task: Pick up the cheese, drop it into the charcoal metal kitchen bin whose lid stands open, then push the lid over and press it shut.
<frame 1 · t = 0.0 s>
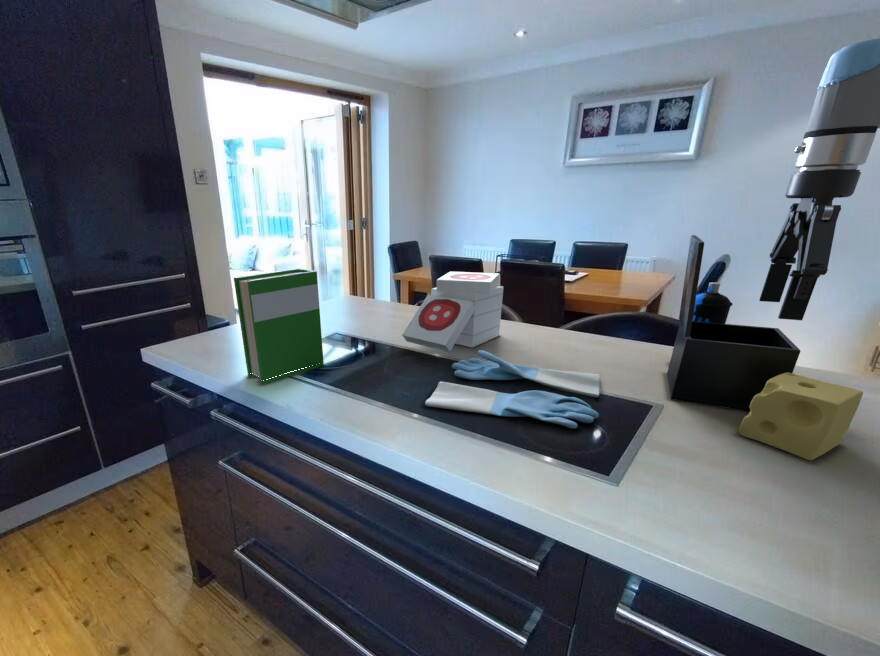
hand: (778, 309, 74), 20 cm above the worktop, tool pointing down, fingers open, 13 cm apart
rubber gloves: (515, 393, 95), on the worktop
pizza boxes: (454, 341, 130), on the worktop
bin lid: (690, 284, 88), point 22 cm above the worktop, hinge at 95.0°
bin: (715, 392, 92), on the worktop
hardback book: (286, 371, 111), on the worktop
cheese: (789, 441, 74), on the worktop
aerosol can: (691, 368, 105), on the worktop
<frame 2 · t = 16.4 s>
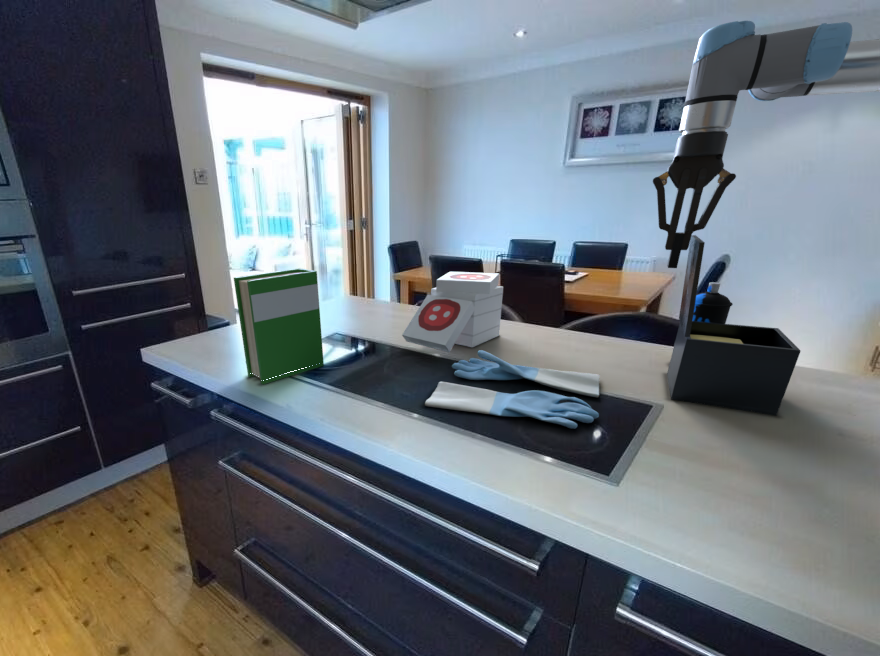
hand: (671, 267, 88), 25 cm above the worktop, tool pointing down, fingers closed
bin lid: (690, 284, 88), point 22 cm above the worktop, hinge at 94.9°, touching gripper
cheese: (740, 367, 88), point 6 cm above the worktop, touching bin
everything else where it was.
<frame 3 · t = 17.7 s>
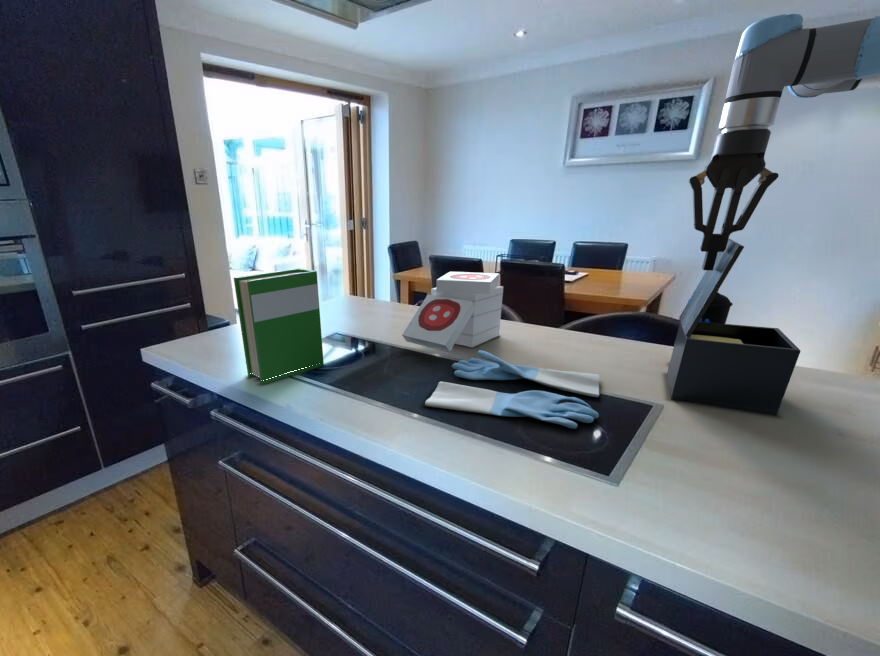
hand: (707, 269, 85), 25 cm above the worktop, tool pointing down, fingers closed
bin lid: (707, 286, 86), point 22 cm above the worktop, hinge at 75.8°, touching gripper
everything else where it was.
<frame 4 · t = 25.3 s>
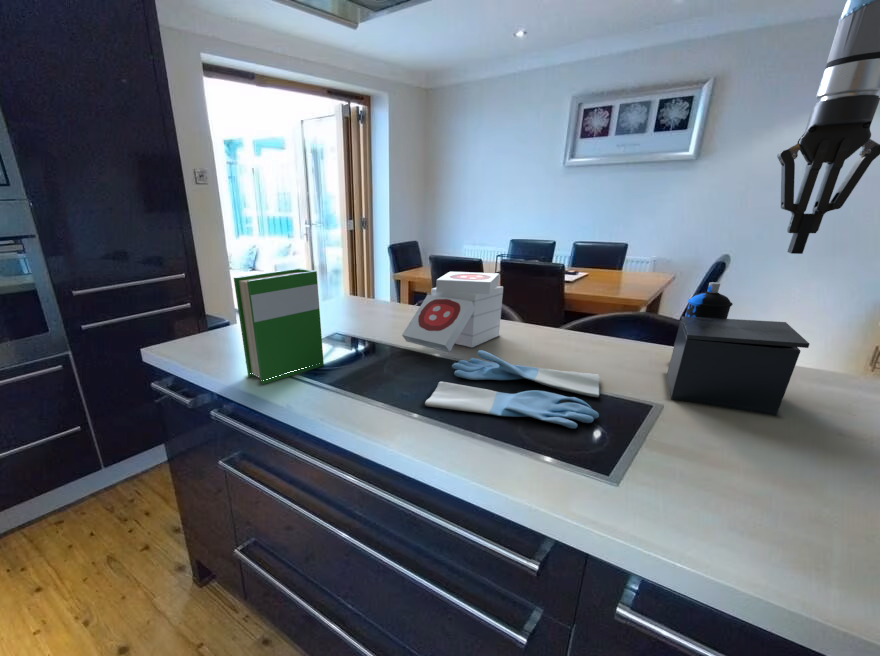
hand: (794, 252, 78), 28 cm above the worktop, tool pointing down, fingers closed
bin lid: (737, 330, 86), point 14 cm above the worktop, hinge at 1.7°
everything else where it was.
at the end: cheese inside the target area in the bin (2.8 cm from its centre), point 5.9 cm above the bin's base; bin lid at +2° (first picture: +95°) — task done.
